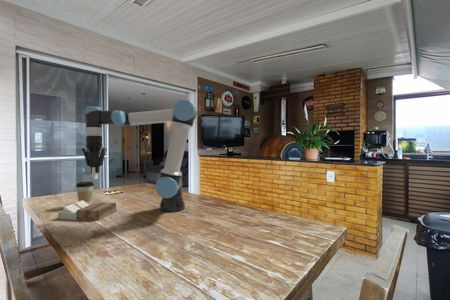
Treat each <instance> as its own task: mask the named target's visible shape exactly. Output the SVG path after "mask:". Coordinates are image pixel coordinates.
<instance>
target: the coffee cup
mask: <svg viewBox="0 0 450 300" xmlns="http://www.w3.org/2000/svg"><path fill="white" fill-rule="evenodd" d="M94 186H95V184H94V182H93V181H80V182H77V183H76V185H75V188H76V193H77V199H78V201H77V202H79V201H82V200H83V201H85V202H86V203H87V204H89V205H92V200H93V195H94V193H93V192H94Z"/></svg>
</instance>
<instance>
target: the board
mask: <svg viewBox="0 0 450 300" xmlns="http://www.w3.org/2000/svg"><path fill="white" fill-rule="evenodd" d="M116 212H117V202H95V203H91V205H89V206H86V207H84V208H81V209H79V210H77V220H79V221H81V220H82V221H100V220H102V219H105V218H107V217H108V216H110V215H112V214H113V213H116ZM77 220H76V221H77Z"/></svg>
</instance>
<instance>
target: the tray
mask: <svg viewBox="0 0 450 300" xmlns="http://www.w3.org/2000/svg"><path fill="white" fill-rule="evenodd" d="M57 214H58V217H57V218H58V219H57V220H61V221H62V220H64V221H65V220H67V221H68V220H69V221H77V213H66V212H62V211H60V212H58V213H57Z"/></svg>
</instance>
